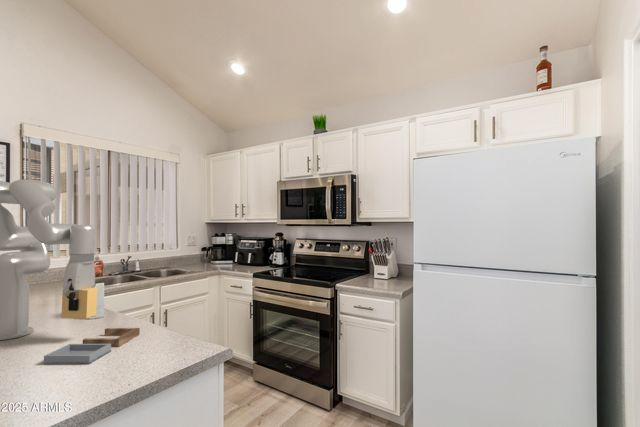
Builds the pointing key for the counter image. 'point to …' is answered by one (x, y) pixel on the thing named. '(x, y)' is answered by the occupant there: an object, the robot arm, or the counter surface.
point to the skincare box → (99, 301)
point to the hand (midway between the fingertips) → (79, 307)
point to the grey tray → (77, 354)
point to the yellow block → (81, 304)
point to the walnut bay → (124, 334)
